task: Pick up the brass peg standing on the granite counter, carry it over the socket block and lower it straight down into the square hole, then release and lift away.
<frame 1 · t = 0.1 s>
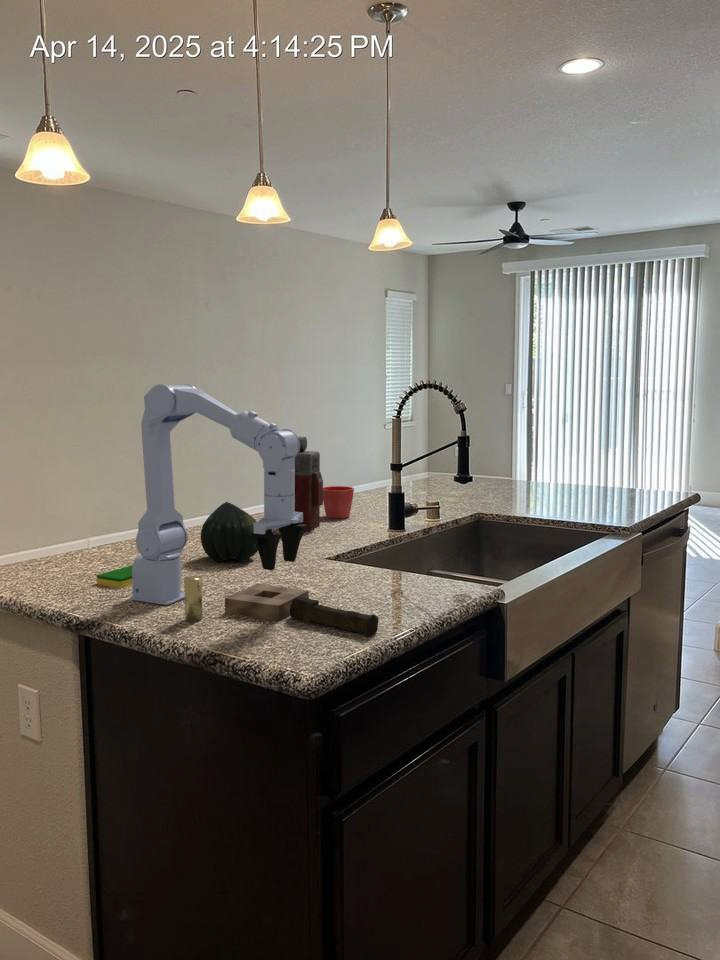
hand: (279, 565, 151), 10 cm above the worktop, tool pointing down, fingers open, 7 cm apart
squash: (230, 560, 200), on the worktop
dish sponge: (130, 581, 179), on the worktop
hand tool: (329, 629, 146), on the worktop
brass peg: (193, 619, 149), on the worktop
socket block: (267, 609, 157), on the worktop
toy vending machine: (305, 528, 243), on the worktop
flower pot: (337, 517, 264), on the worktop
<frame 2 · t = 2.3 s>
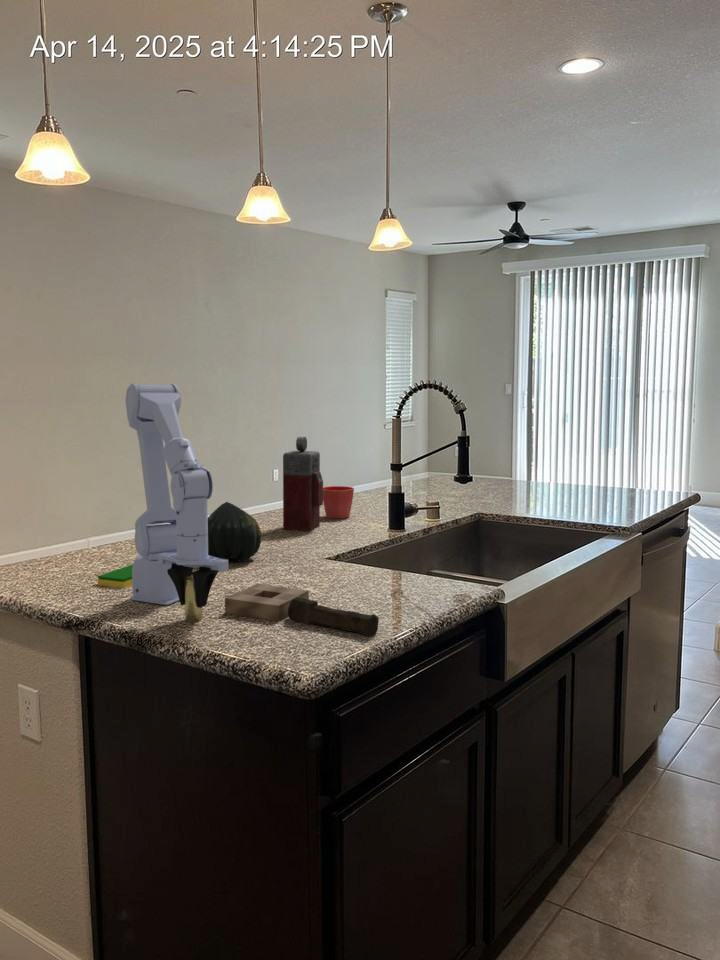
hand: (193, 605, 149), 3 cm above the worktop, tool pointing down, fingers closed on brass peg, 3 cm apart
brass peg: (193, 619, 149), on the worktop, touching gripper
everything else where it was.
when the fingers open (4 cm above the worktop, at t = 5.7 s): brass peg drops 1 cm, resting in socket block.
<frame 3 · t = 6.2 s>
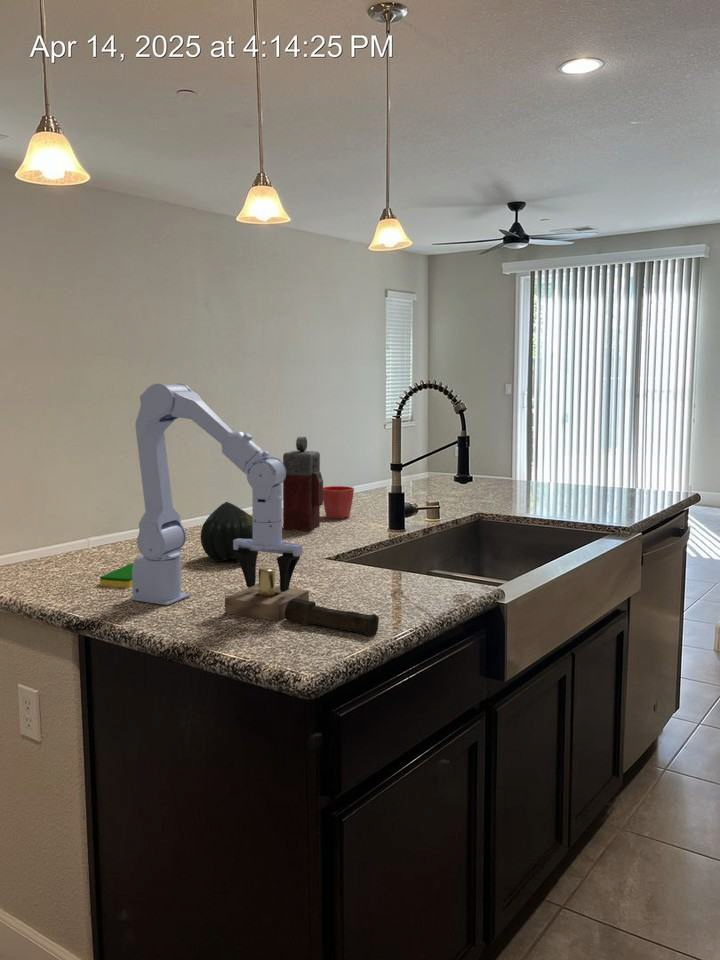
hand: (267, 588, 156), 4 cm above the worktop, tool pointing down, fingers open, 7 cm apart
brass peg: (266, 609, 156), resting in socket block
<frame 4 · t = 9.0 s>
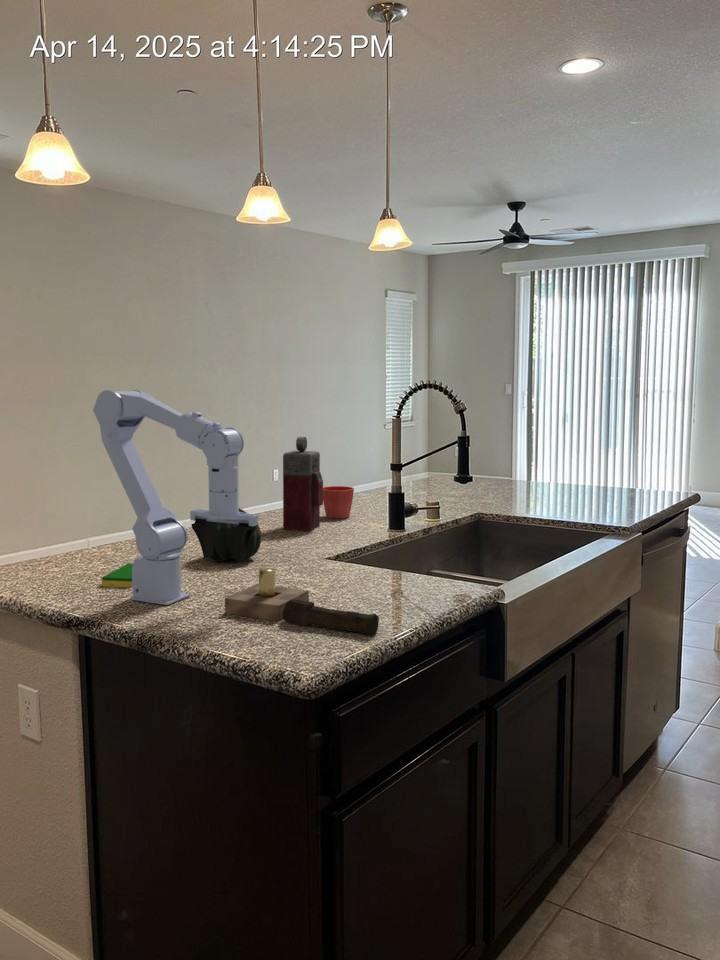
hand: (224, 559, 156), 10 cm above the worktop, tool pointing down, fingers open, 7 cm apart
at the end: brass peg 0.3 cm off-centre on the socket block, point 0.0 cm above the socket block's base; the gripper is holding nothing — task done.
